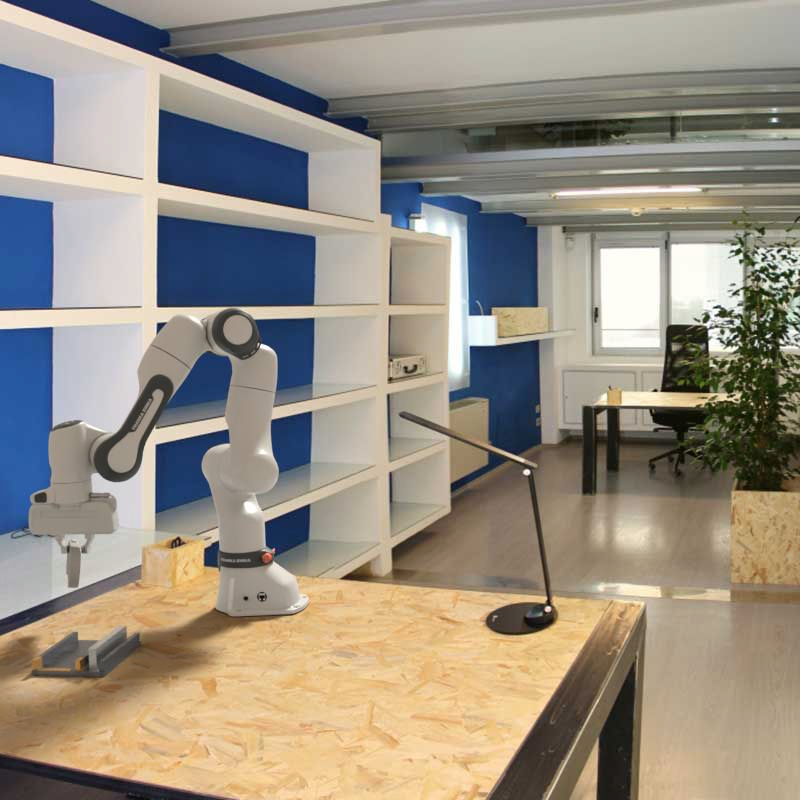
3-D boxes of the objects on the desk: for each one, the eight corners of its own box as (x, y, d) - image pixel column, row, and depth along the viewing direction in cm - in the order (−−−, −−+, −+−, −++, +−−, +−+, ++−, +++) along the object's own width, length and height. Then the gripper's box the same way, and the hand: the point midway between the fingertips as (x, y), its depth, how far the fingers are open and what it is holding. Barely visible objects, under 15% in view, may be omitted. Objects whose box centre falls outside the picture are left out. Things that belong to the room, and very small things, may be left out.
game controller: (79, 591, 223) (82, 554, 222) (68, 591, 222) (71, 554, 222) (75, 570, 241) (78, 535, 241) (65, 570, 240) (68, 535, 240)
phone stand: (141, 645, 220) (139, 622, 220) (103, 677, 201) (102, 652, 201) (75, 644, 222) (73, 621, 222) (32, 675, 203) (30, 650, 203)
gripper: (121, 489, 232) (125, 549, 233) (36, 490, 235) (41, 550, 236) (109, 495, 226) (113, 556, 227) (23, 496, 229) (27, 556, 230)
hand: (76, 553), depth 232 cm, fingers open, 3 cm apart
